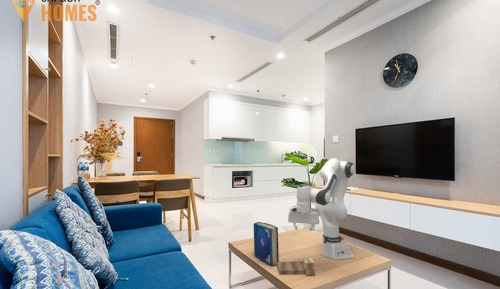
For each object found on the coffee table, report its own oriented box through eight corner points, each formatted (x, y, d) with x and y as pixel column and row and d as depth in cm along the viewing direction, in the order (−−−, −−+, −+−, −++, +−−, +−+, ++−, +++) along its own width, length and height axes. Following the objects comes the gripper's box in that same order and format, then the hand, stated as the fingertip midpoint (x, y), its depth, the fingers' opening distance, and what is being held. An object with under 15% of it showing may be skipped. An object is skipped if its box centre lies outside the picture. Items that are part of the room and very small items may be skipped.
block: (311, 269, 150) (311, 257, 151) (314, 275, 143) (314, 263, 143) (303, 269, 150) (303, 258, 151) (306, 275, 143) (306, 263, 143)
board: (309, 265, 157) (309, 261, 157) (314, 274, 145) (314, 270, 145) (276, 265, 156) (276, 261, 157) (279, 274, 144) (279, 270, 145)
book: (252, 255, 172) (252, 221, 173) (260, 253, 176) (259, 220, 177) (271, 267, 154) (271, 229, 156) (279, 264, 159) (278, 227, 160)
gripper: (319, 208, 155) (319, 229, 154) (288, 206, 159) (288, 227, 158) (320, 210, 149) (320, 232, 148) (287, 208, 153) (287, 230, 152)
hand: (303, 230), depth 153 cm, fingers open, 8 cm apart
